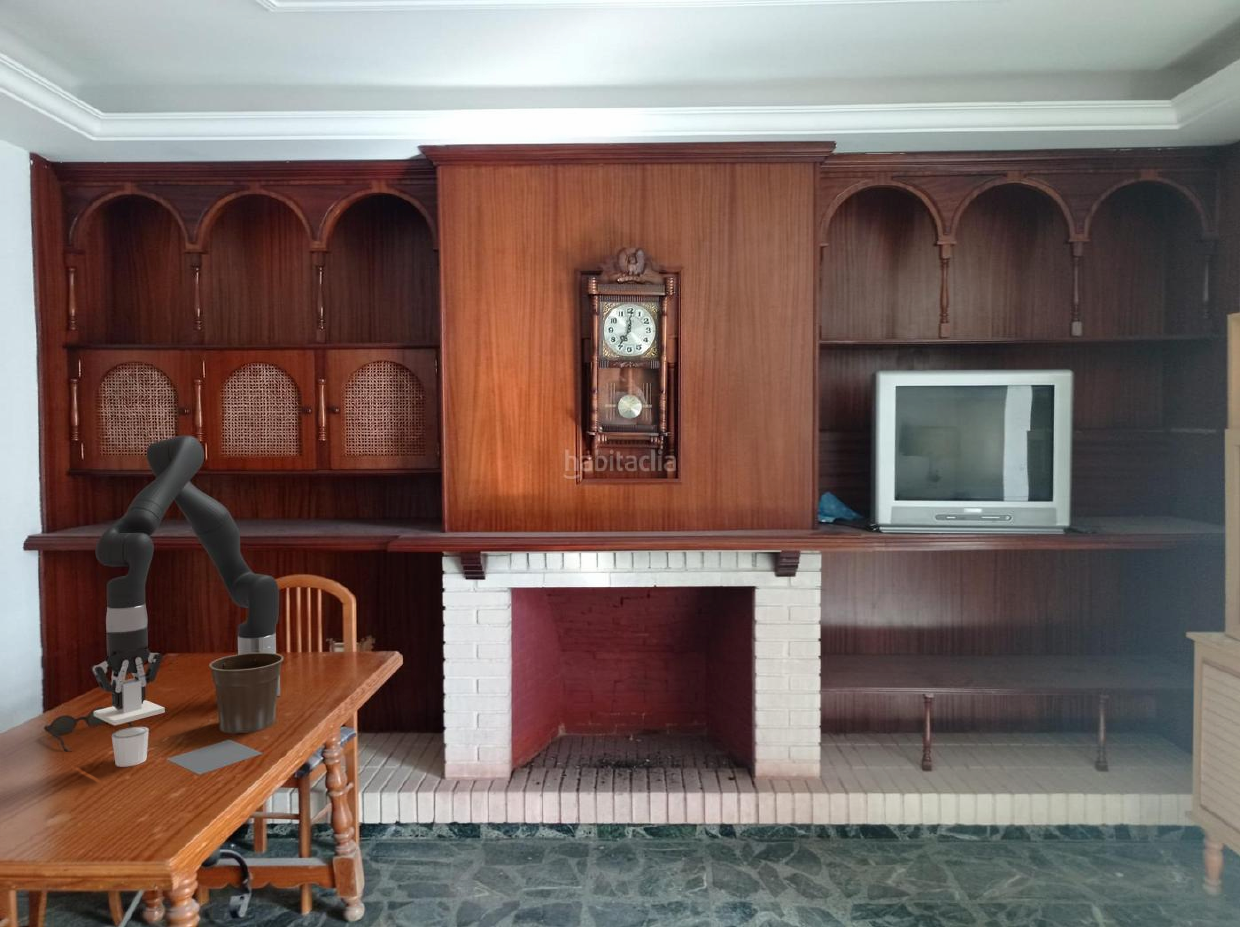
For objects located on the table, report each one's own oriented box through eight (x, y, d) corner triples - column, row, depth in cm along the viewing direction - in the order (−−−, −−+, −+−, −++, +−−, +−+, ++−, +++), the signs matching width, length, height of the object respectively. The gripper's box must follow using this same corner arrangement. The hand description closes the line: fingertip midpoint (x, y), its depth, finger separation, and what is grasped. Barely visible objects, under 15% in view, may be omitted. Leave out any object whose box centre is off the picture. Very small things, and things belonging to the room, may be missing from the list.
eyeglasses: (113, 722, 206) (113, 702, 205) (138, 736, 196) (137, 715, 196) (44, 739, 194) (43, 718, 194) (67, 755, 185) (66, 733, 185)
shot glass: (132, 771, 175) (131, 738, 175) (104, 769, 176) (103, 736, 176) (157, 758, 182) (156, 727, 181) (129, 756, 183) (128, 725, 183)
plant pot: (253, 711, 212) (251, 648, 211) (299, 720, 205) (298, 656, 204) (195, 732, 197) (193, 665, 197) (243, 743, 190) (241, 673, 190)
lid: (143, 703, 185) (142, 672, 185) (164, 712, 180) (164, 680, 179) (93, 715, 177) (92, 683, 177) (114, 725, 171) (113, 691, 171)
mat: (229, 741, 191) (229, 739, 191) (263, 755, 183) (263, 753, 183) (166, 761, 180) (166, 758, 180) (199, 777, 172) (199, 774, 172)
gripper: (153, 618, 186) (155, 694, 186) (82, 630, 174) (84, 711, 175) (169, 622, 181) (171, 700, 182) (98, 635, 170) (100, 718, 170)
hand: (129, 705), depth 178 cm, fingers closed on lid, 3 cm apart
